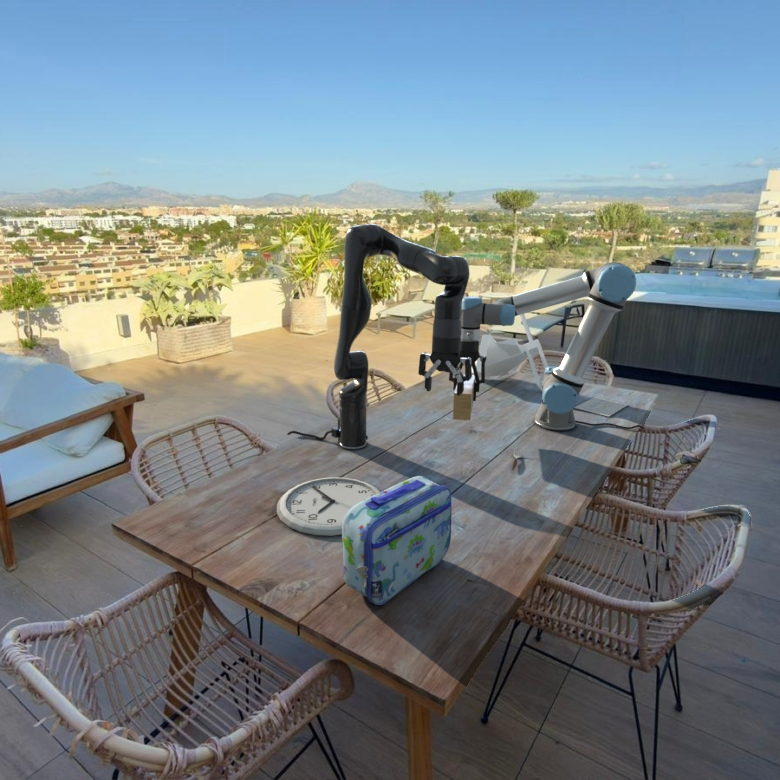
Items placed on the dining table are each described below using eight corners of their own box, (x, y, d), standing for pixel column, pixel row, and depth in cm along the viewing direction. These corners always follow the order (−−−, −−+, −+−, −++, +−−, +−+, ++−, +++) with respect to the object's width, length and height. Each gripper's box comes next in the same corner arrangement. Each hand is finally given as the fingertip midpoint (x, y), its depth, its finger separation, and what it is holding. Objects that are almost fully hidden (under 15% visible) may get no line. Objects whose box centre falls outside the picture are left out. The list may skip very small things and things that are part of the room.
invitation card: (608, 416, 214) (573, 407, 224) (608, 416, 214) (573, 408, 224) (628, 404, 229) (594, 396, 238) (628, 405, 229) (594, 397, 238)
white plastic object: (488, 420, 264) (468, 397, 239) (469, 347, 286) (449, 319, 261) (560, 396, 252) (546, 369, 227) (534, 322, 274) (519, 290, 249)
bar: (458, 397, 202) (459, 374, 200) (474, 398, 201) (475, 375, 198) (452, 419, 180) (454, 393, 177) (470, 420, 178) (471, 394, 176)
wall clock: (392, 527, 129) (268, 531, 127) (391, 533, 130) (269, 537, 127) (383, 473, 158) (282, 475, 155) (383, 478, 158) (282, 480, 156)
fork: (508, 471, 164) (508, 465, 164) (514, 451, 179) (515, 446, 178) (516, 472, 164) (517, 466, 163) (522, 452, 178) (523, 447, 177)
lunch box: (371, 618, 102) (371, 524, 95) (336, 591, 109) (334, 502, 103) (455, 562, 119) (460, 479, 113) (420, 542, 126) (423, 463, 120)
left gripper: (416, 334, 137) (414, 393, 142) (469, 339, 132) (466, 400, 137) (425, 329, 144) (423, 385, 148) (476, 334, 139) (472, 392, 143)
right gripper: (442, 340, 190) (439, 400, 197) (495, 342, 186) (490, 404, 193) (444, 336, 197) (442, 394, 204) (495, 338, 193) (491, 398, 200)
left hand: (443, 392), depth 143 cm, fingers open, 8 cm apart
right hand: (465, 399), depth 199 cm, fingers closed on bar, 6 cm apart
